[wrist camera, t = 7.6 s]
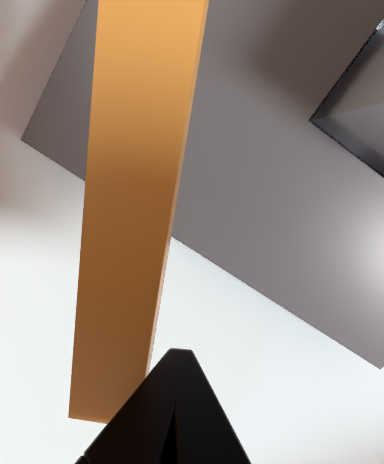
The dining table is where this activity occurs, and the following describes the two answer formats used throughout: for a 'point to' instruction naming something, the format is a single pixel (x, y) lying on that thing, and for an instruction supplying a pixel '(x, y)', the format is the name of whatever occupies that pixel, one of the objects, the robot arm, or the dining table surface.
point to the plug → (359, 106)
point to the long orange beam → (130, 192)
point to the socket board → (260, 158)
